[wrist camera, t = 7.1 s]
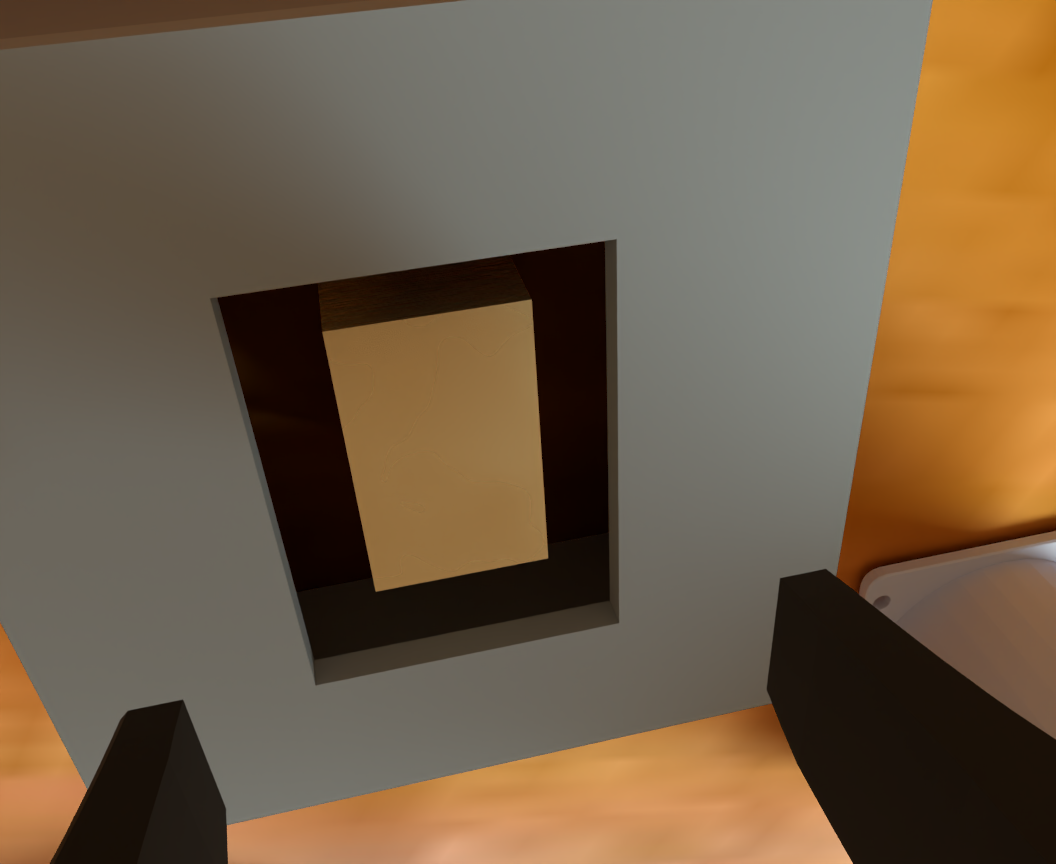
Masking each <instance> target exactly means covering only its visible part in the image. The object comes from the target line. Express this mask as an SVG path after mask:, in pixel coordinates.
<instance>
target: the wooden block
mask: <svg viewBox="0 0 1056 864" xmlns="http://www.w3.org/2000/svg"><path fill="white" fill-rule="evenodd" d="M318 290H319V301H320V312H321V323H322V333H323V338H324V343H325V348H326V352H327V357H328V362H329V367H330V372H331V377H332V382H333V386H334V391H335V396H336V401H337V406H338V411H339V416H340V420H341V425H342V430H343V435H344V440H345V445H346V450H347V455H348V459H349V464H350V469H351V474H352V479H353V484H354V489H355V493H356V498H357V503H358V508H359V513H360V518H361V523H362V527H363V532H364V537H365V542H366V547H367V552H368V557H369V562H370V566H371V571H372V576H373V581H374V586H375V591H376V592H377V591H382V590H387V589H393V588H398V587H403V586H408V585H413V584H418V583H424V582H429V581H434V580H439V579H444V578H449V577H454V576H460V575H465V574H470V573H475V572H480V571H485V570H491V569H496V568H501V567H506V566H511V565H516V564H521V563H527V562H532V561H537V560H542V559H547V558H548V546H547V531H546V515H545V499H544V484H543V468H542V452H541V437H540V421H539V405H538V390H537V374H536V358H535V343H534V327H533V311H532V299H531V297H530V295H529V293H528V291H527V289H526V287H525V285H524V283H523V281H522V279H521V277H520V275H519V273H518V271H517V269H516V267H515V265H514V263H513V261H512V259H511V257H510V255H505V256H498V257H491V258H484V259H477V260H471V261H464V262H457V263H450V264H443V265H436V266H429V267H423V268H416V269H409V270H402V271H395V272H388V273H381V274H375V275H368V276H361V277H354V278H347V279H340V280H334V281H327V282H320V283H318Z"/></svg>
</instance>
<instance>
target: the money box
mask: <svg viewBox="0 0 1056 864" xmlns="http://www.w3.org/2000/svg"><path fill="white" fill-rule="evenodd" d="M932 1H933V0H0V622H1V624H2V626H3V628H4V630H5V632H6V634H7V636H8V638H9V640H10V642H11V643H12V645H13V647H14V649H15V651H16V653H17V655H18V657H19V659H20V661H21V663H22V665H23V667H24V668H25V670H26V672H27V674H28V676H29V678H30V680H31V682H32V684H33V686H34V688H35V690H36V691H37V693H38V695H39V697H40V699H41V701H42V703H43V705H44V707H45V709H46V711H47V713H48V715H49V716H50V718H51V720H52V722H53V724H54V726H55V728H56V730H57V732H58V734H59V736H60V738H61V740H62V741H63V743H64V745H65V747H66V749H67V751H68V753H69V755H70V757H71V759H72V761H73V763H74V765H75V766H76V768H77V770H78V772H79V774H80V776H81V778H82V780H83V782H84V784H85V786H86V788H87V789H88V788H89V786H90V784H91V782H92V780H93V778H94V776H95V773H96V771H97V769H98V767H99V765H100V763H101V761H102V759H103V756H104V754H105V752H106V750H107V748H108V746H109V743H110V741H111V739H112V737H113V735H114V732H115V730H116V728H117V726H118V723H119V721H120V719H121V718H122V717H123V716H124V715H125V713H126V712H127V711H129V710H133V709H138V708H143V707H148V706H153V705H158V704H163V703H168V702H173V701H178V700H184V703H185V705H186V708H187V711H188V713H189V716H190V718H191V721H192V723H193V726H194V728H195V731H196V733H197V736H198V738H199V741H200V744H201V746H202V749H203V751H204V754H205V756H206V759H207V761H208V764H209V766H210V769H211V771H212V774H213V777H214V779H215V782H216V784H217V787H218V789H219V792H220V794H221V797H222V799H223V802H224V804H225V807H226V823H227V825H230V824H234V823H239V822H243V821H248V820H252V819H257V818H261V817H266V816H270V815H275V814H279V813H283V812H288V811H292V810H297V809H301V808H306V807H310V806H315V805H319V804H324V803H328V802H333V801H337V800H342V799H346V798H351V797H355V796H360V795H364V794H369V793H373V792H378V791H382V790H387V789H391V788H396V787H400V786H404V785H409V784H413V783H418V782H422V781H427V780H431V779H436V778H440V777H445V776H449V775H454V774H458V773H463V772H467V771H472V770H476V769H481V768H485V767H490V766H494V765H499V764H503V763H508V762H512V761H516V760H521V759H525V758H530V757H534V756H539V755H543V754H548V753H552V752H557V751H561V750H566V749H570V748H575V747H579V746H584V745H588V744H593V743H597V742H602V741H606V740H611V739H615V738H620V737H624V736H629V735H633V734H637V733H642V732H646V731H651V730H655V729H660V728H664V727H669V726H673V725H678V724H682V723H687V722H691V721H696V720H700V719H705V718H709V717H714V716H718V715H723V714H727V713H732V712H736V711H741V710H745V709H750V708H754V707H758V706H763V705H767V704H772V702H771V699H770V697H769V694H768V692H767V681H768V672H769V664H770V656H771V648H772V640H773V631H774V623H775V615H776V607H777V599H778V591H779V582H780V578H783V577H788V576H793V575H798V574H803V573H807V572H812V571H817V570H822V569H827V570H828V571H830V572H831V573H832V574H833V575H835V576H836V575H837V569H838V563H839V557H840V551H841V545H842V539H843V533H844V527H845V521H846V515H847V509H848V503H849V497H850V491H851V485H852V479H853V473H854V467H855V461H856V455H857V449H858V443H859V437H860V431H861V425H862V420H863V414H864V408H865V402H866V396H867V390H868V384H869V378H870V372H871V366H872V360H873V354H874V348H875V342H876V336H877V330H878V324H879V318H880V312H881V306H882V300H883V294H884V288H885V282H886V276H887V270H888V264H889V258H890V252H891V246H892V240H893V234H894V228H895V222H896V216H897V210H898V204H899V198H900V192H901V187H902V181H903V175H904V169H905V163H906V157H907V151H908V145H909V139H910V133H911V127H912V121H913V115H914V109H915V103H916V97H917V91H918V85H919V79H920V73H921V67H922V61H923V55H924V49H925V43H926V37H927V31H928V25H929V19H930V13H931V7H932ZM601 241H605V281H606V353H607V425H608V497H609V533H604V534H599V535H593V536H588V537H583V538H578V539H572V540H567V541H562V542H557V543H552V544H547V546H548V558H547V559H542V560H537V561H532V562H527V563H521V564H516V565H511V566H506V567H501V568H496V569H491V570H485V571H480V572H475V573H470V574H465V575H460V576H454V577H449V578H444V579H439V580H434V581H429V582H424V583H418V584H413V585H408V586H403V587H398V588H393V589H387V590H382V591H377V592H376V591H375V586H374V581H373V578H368V579H363V580H358V581H353V582H347V583H342V584H337V585H332V586H327V587H321V588H316V589H311V590H306V591H300V592H296V590H295V586H294V582H293V579H292V575H291V571H290V567H289V564H288V560H287V556H286V552H285V549H284V545H283V541H282V538H281V534H280V530H279V526H278V523H277V519H276V515H275V511H274V508H273V504H272V500H271V496H270V493H269V489H268V485H267V482H266V478H265V474H264V470H263V467H262V463H261V459H260V455H259V452H258V448H257V444H256V441H255V437H254V433H253V429H252V426H251V422H250V418H249V414H248V411H247V407H246V403H245V400H244V396H243V392H242V388H241V385H240V381H239V377H238V373H237V370H236V366H235V362H234V358H233V355H232V351H231V347H230V344H229V340H228V336H227V332H226V329H225V325H224V321H223V317H222V314H221V310H220V306H219V303H218V299H217V297H224V296H231V295H238V294H244V293H251V292H258V291H265V290H272V289H279V288H286V287H292V286H299V285H306V284H313V283H320V282H327V281H334V280H340V279H347V278H354V277H361V276H368V275H375V274H381V273H388V272H395V271H402V270H409V269H416V268H423V267H429V266H436V265H443V264H450V263H457V262H464V261H471V260H477V259H484V258H491V257H498V256H505V255H512V254H519V253H525V252H532V251H539V250H546V249H553V248H560V247H566V246H573V245H580V244H587V243H594V242H601Z"/></svg>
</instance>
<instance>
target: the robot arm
mask: <svg viewBox="0 0 1056 864" xmlns="http://www.w3.org/2000/svg"><path fill="white" fill-rule="evenodd" d="M767 692H768V694H769V697H770V699H771V702H772V704H773V707H774V709H775V712H776V714H777V717H778V719H779V722H780V724H781V727H782V729H783V732H784V734H785V736H786V739H787V741H788V743H789V746H790V748H791V750H792V753H793V755H794V757H795V759H796V762H797V764H798V766H799V768H800V770H801V772H802V773H803V775H804V777H805V779H806V781H807V783H808V784H809V786H810V788H811V790H812V792H813V793H814V795H815V797H816V799H817V801H818V802H819V804H820V806H821V808H822V809H823V811H824V813H825V815H826V817H827V818H828V820H829V822H830V824H831V826H832V827H833V829H834V831H835V833H836V834H837V836H838V838H839V840H840V841H841V843H842V845H843V847H844V848H845V850H846V852H847V854H848V855H849V857H850V859H851V861H852V862H853V864H1056V531H1052V532H1048V533H1043V534H1038V535H1033V536H1028V537H1023V538H1018V539H1013V540H1009V541H1004V542H999V543H994V544H989V545H984V546H979V547H974V548H970V549H965V550H960V551H955V552H950V553H945V554H940V555H935V556H931V557H926V558H921V559H916V560H911V561H906V562H901V563H896V564H892V565H887V566H882V567H878V568H875V569H873V570H871V571H870V572H868V573H867V574H866V575H865V577H864V578H863V580H862V582H861V586H860V591H859V594H858V593H856V592H855V591H854V590H853V589H851V588H850V587H849V586H848V585H846V584H845V583H844V582H842V581H841V580H840V579H839V578H837V577H836V576H835V575H833V574H832V573H831V572H830V571H828V570H827V569H822V570H817V571H812V572H807V573H803V574H798V575H793V576H788V577H783V578H780V582H779V591H778V599H777V607H776V615H775V623H774V631H773V640H772V648H771V656H770V664H769V672H768V681H767ZM50 864H228V854H227V823H226V807H225V804H224V802H223V799H222V797H221V794H220V792H219V789H218V787H217V784H216V782H215V779H214V777H213V774H212V771H211V769H210V766H209V764H208V761H207V759H206V756H205V754H204V751H203V749H202V746H201V744H200V741H199V738H198V736H197V733H196V731H195V728H194V726H193V723H192V721H191V718H190V716H189V713H188V711H187V708H186V705H185V703H184V700H178V701H173V702H168V703H163V704H158V705H153V706H148V707H143V708H138V709H133V710H129V711H127V712H126V713H125V715H124V716H123V717H122V718H121V719H120V721H119V723H118V726H117V728H116V730H115V732H114V735H113V737H112V739H111V741H110V743H109V746H108V748H107V750H106V752H105V754H104V756H103V759H102V761H101V763H100V765H99V767H98V769H97V771H96V773H95V776H94V778H93V780H92V782H91V784H90V786H89V788H88V790H87V792H86V794H85V796H84V798H83V800H82V802H81V804H80V806H79V808H78V810H77V812H76V814H75V816H74V818H73V820H72V822H71V824H70V826H69V828H68V830H67V832H66V834H65V836H64V838H63V840H62V842H61V844H60V845H59V847H58V849H57V851H56V853H55V855H54V857H53V859H52V860H51V862H50Z"/></svg>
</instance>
